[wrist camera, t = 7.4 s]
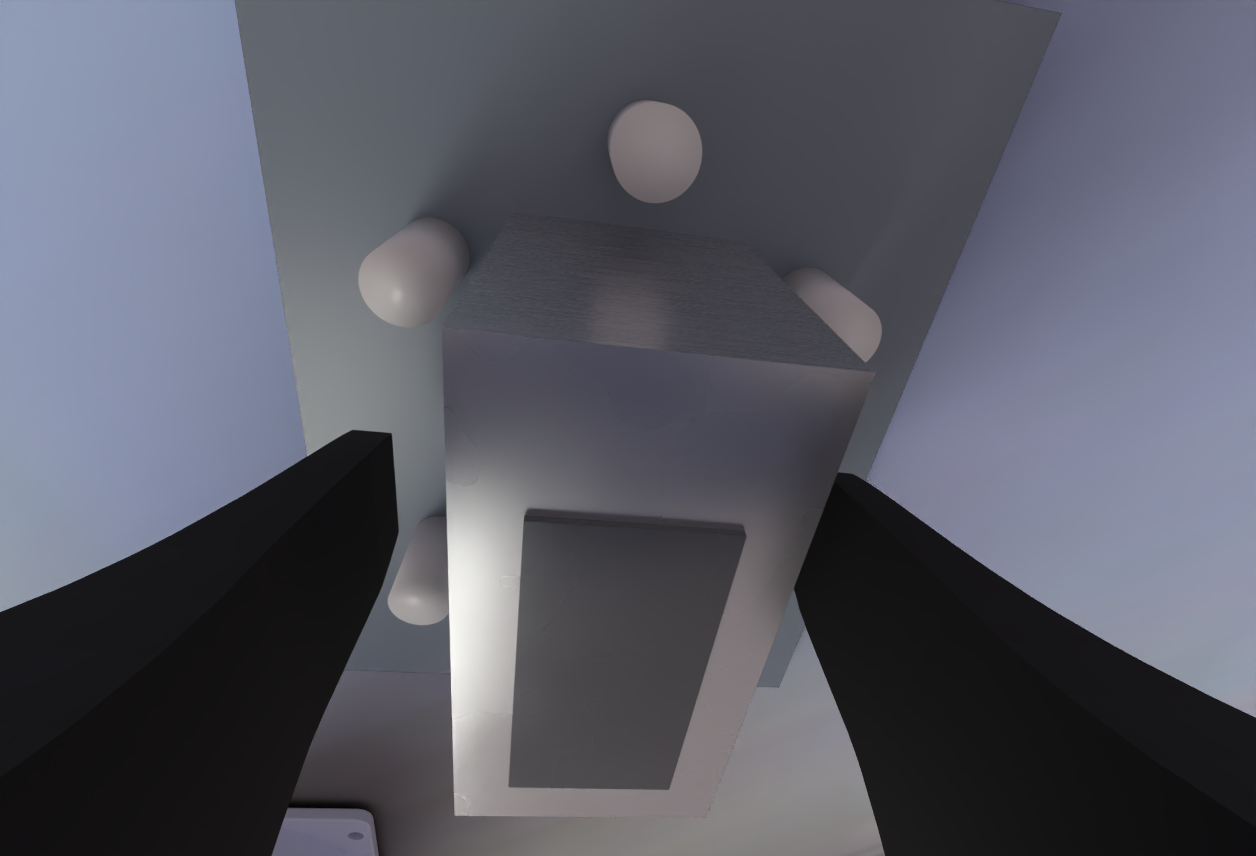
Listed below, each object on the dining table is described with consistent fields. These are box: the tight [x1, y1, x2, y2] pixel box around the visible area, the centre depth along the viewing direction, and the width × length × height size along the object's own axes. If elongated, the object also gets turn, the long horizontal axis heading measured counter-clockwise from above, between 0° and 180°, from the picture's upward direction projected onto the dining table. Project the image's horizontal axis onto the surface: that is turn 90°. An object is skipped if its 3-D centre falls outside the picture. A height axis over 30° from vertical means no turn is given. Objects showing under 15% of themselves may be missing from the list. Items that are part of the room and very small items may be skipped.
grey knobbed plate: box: [235, 0, 1061, 688], centre depth 12 cm, size 16×12×3 cm
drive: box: [442, 212, 875, 818], centre depth 10 cm, size 8×4×6 cm, turn 172°
